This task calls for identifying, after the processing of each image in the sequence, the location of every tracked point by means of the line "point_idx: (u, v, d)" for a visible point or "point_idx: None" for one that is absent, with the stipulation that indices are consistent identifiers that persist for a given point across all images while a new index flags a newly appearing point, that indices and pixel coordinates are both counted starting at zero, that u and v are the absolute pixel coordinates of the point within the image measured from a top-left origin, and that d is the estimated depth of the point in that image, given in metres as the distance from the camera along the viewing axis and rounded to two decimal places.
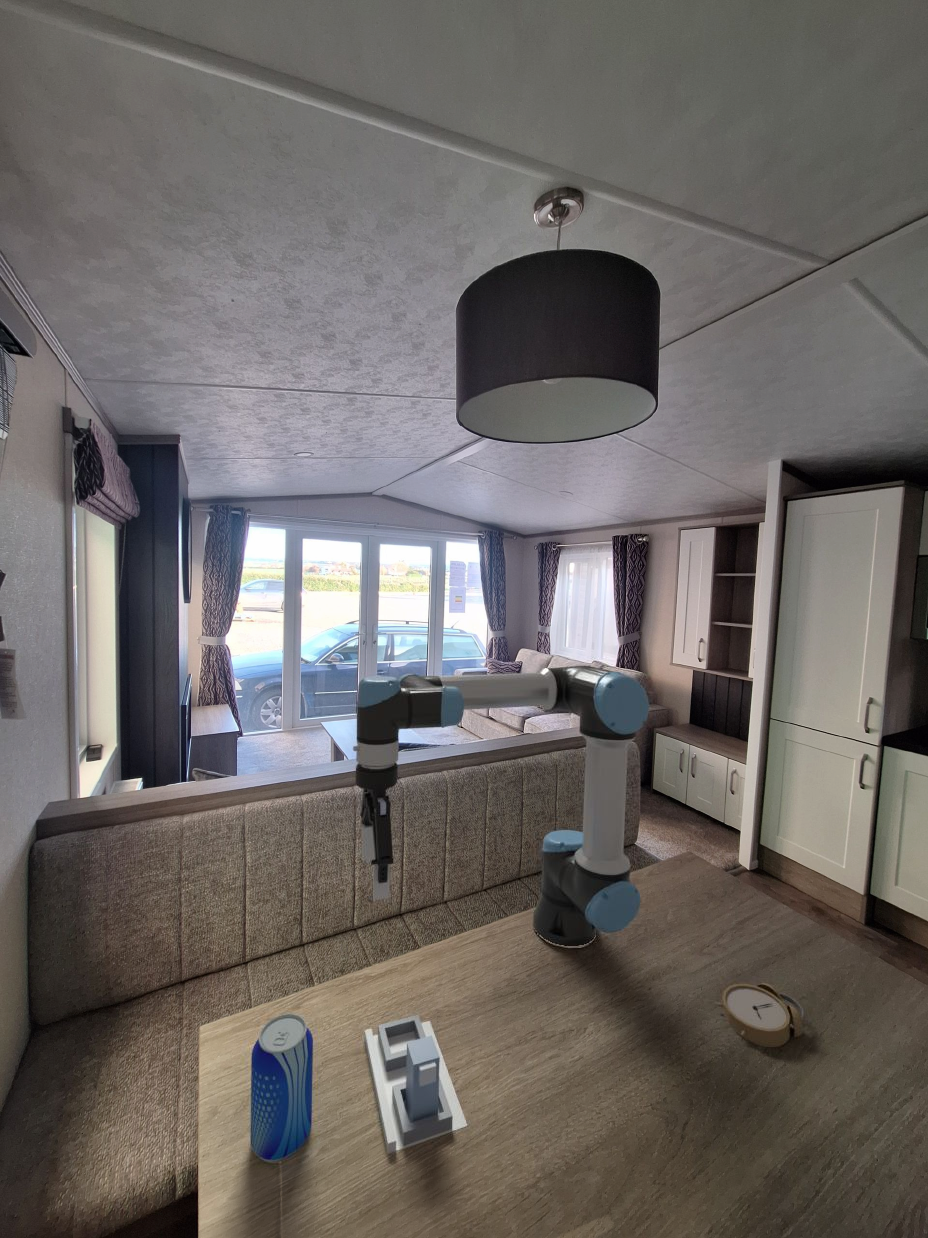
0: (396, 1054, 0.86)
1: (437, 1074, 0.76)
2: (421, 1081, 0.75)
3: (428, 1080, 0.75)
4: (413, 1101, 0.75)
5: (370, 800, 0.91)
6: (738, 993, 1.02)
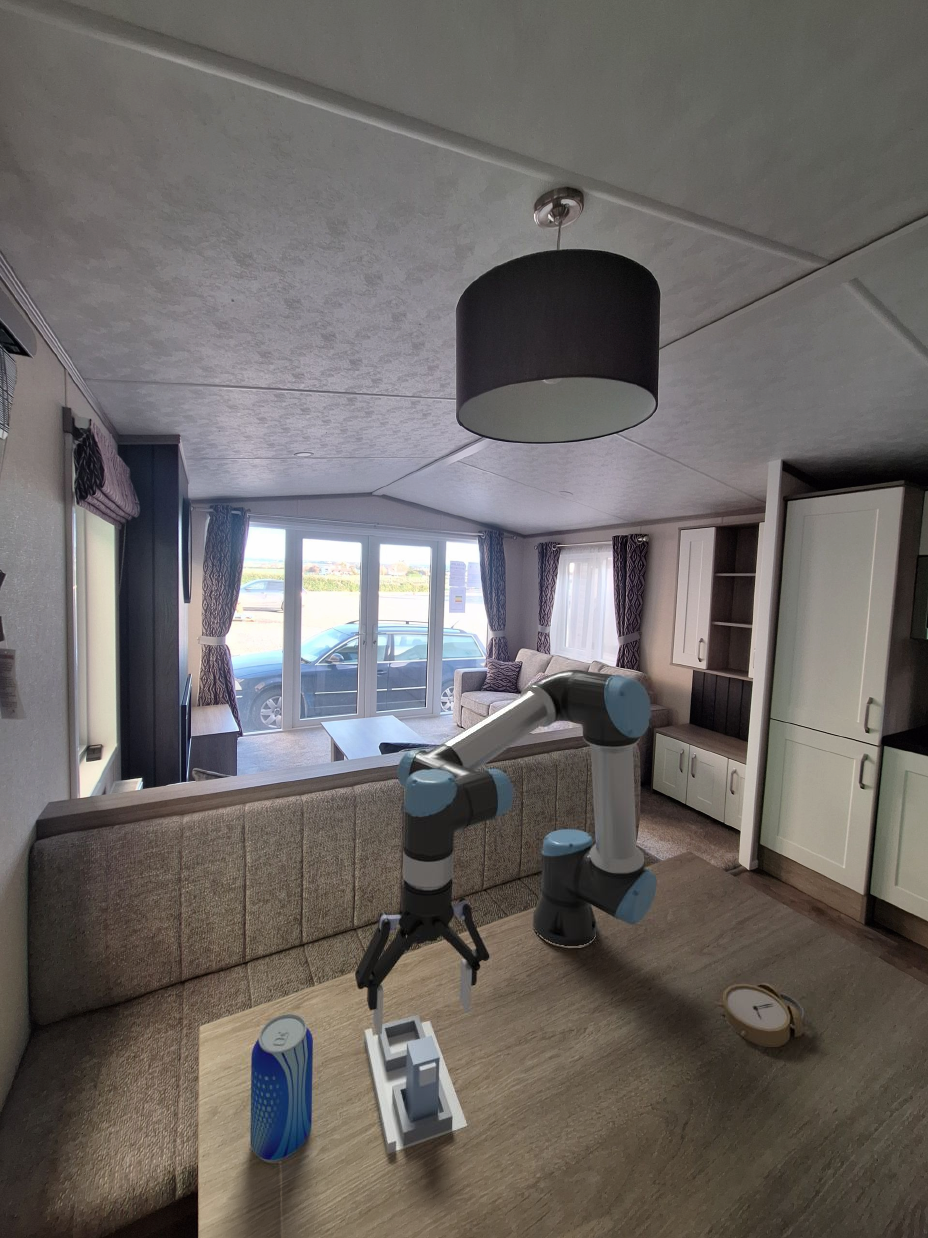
0: (396, 1054, 0.86)
1: (437, 1074, 0.76)
2: (421, 1081, 0.75)
3: (428, 1080, 0.75)
4: (413, 1101, 0.75)
5: None
6: (738, 993, 1.02)
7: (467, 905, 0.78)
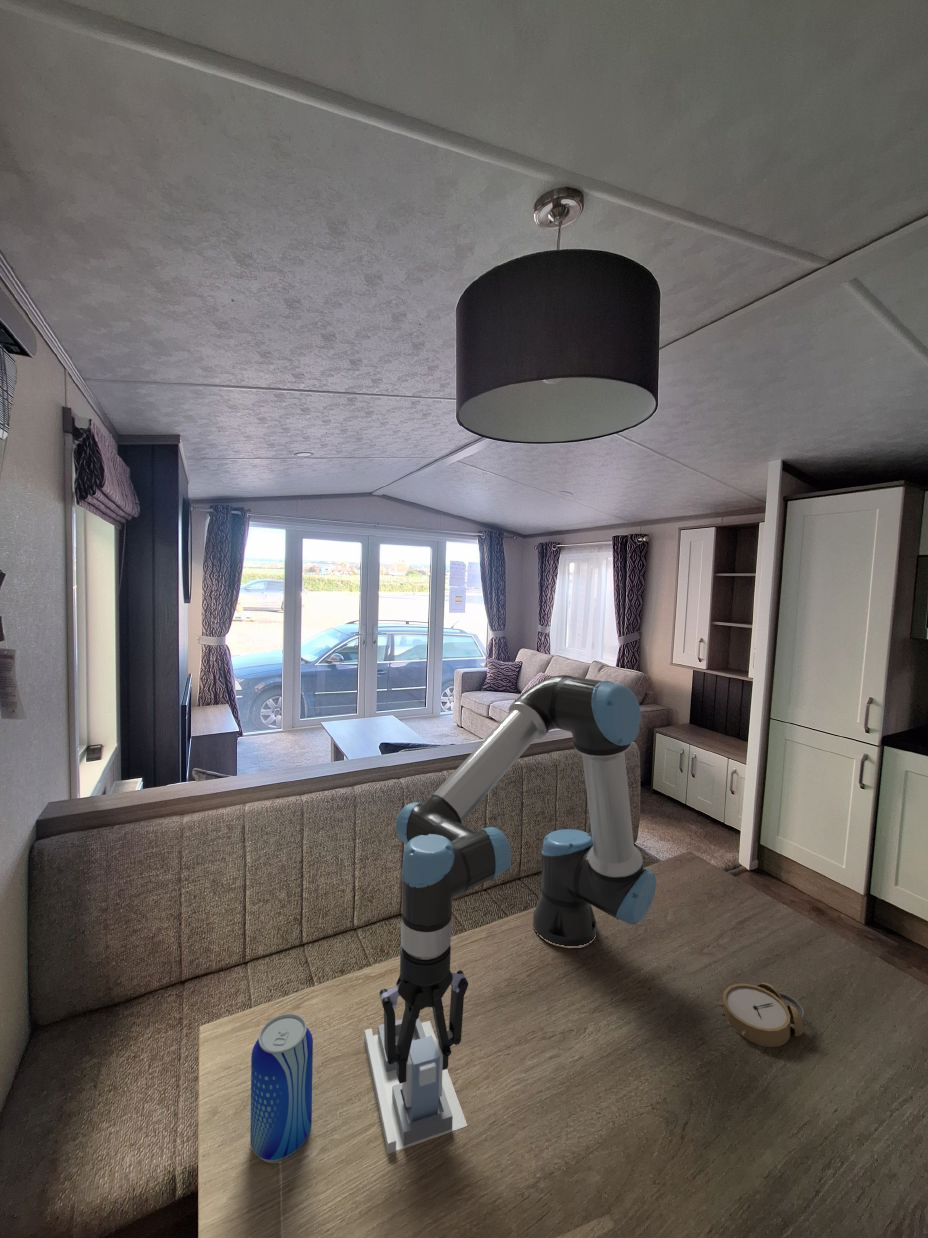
0: None
1: (437, 1074, 0.76)
2: (421, 1081, 0.75)
3: (428, 1080, 0.75)
4: (413, 1101, 0.75)
5: None
6: (738, 993, 1.02)
7: (466, 980, 0.79)
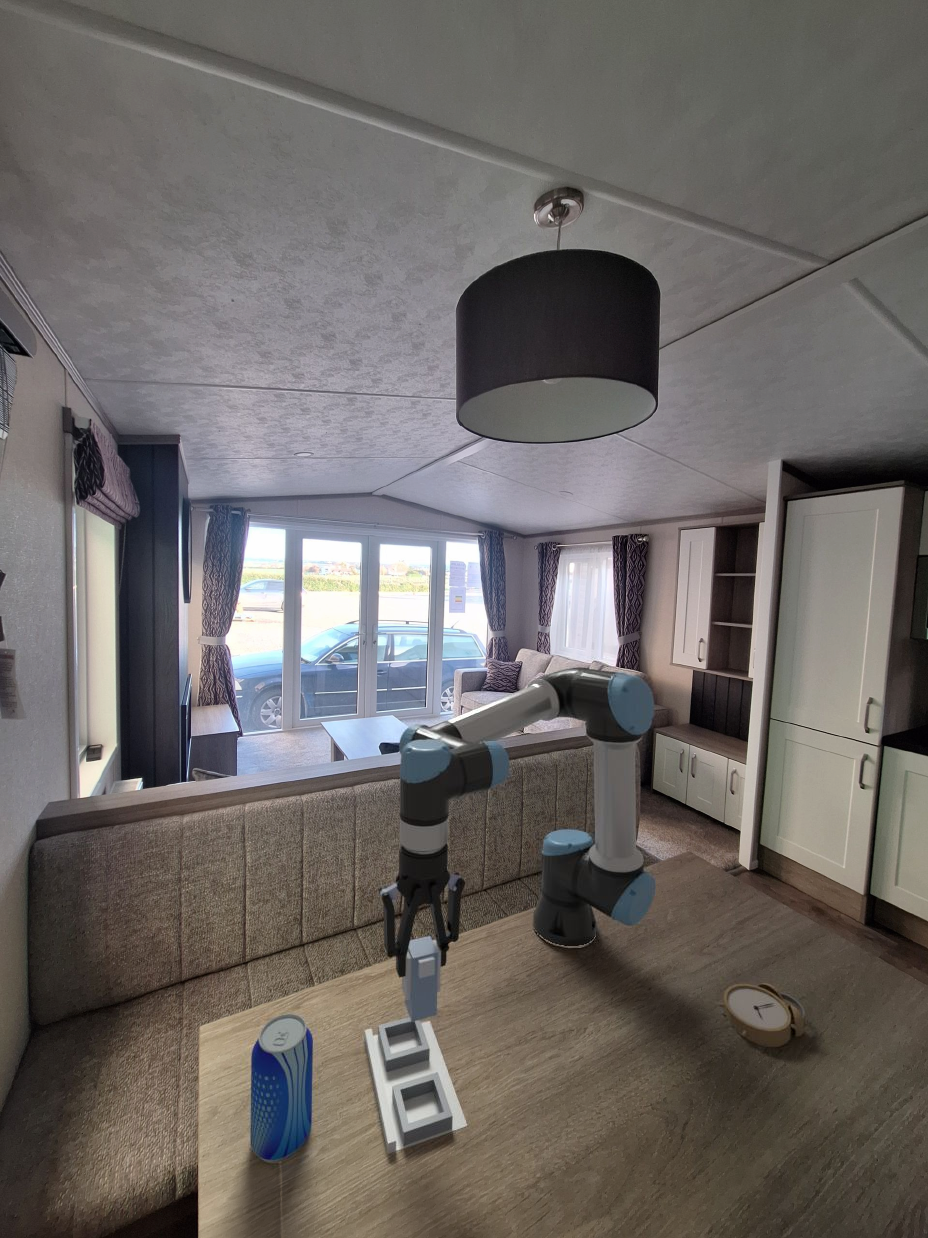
0: (396, 1054, 0.86)
1: (436, 968, 0.79)
2: (420, 973, 0.77)
3: (427, 973, 0.77)
4: (413, 994, 0.78)
5: None
6: (739, 993, 1.02)
7: (463, 879, 0.81)
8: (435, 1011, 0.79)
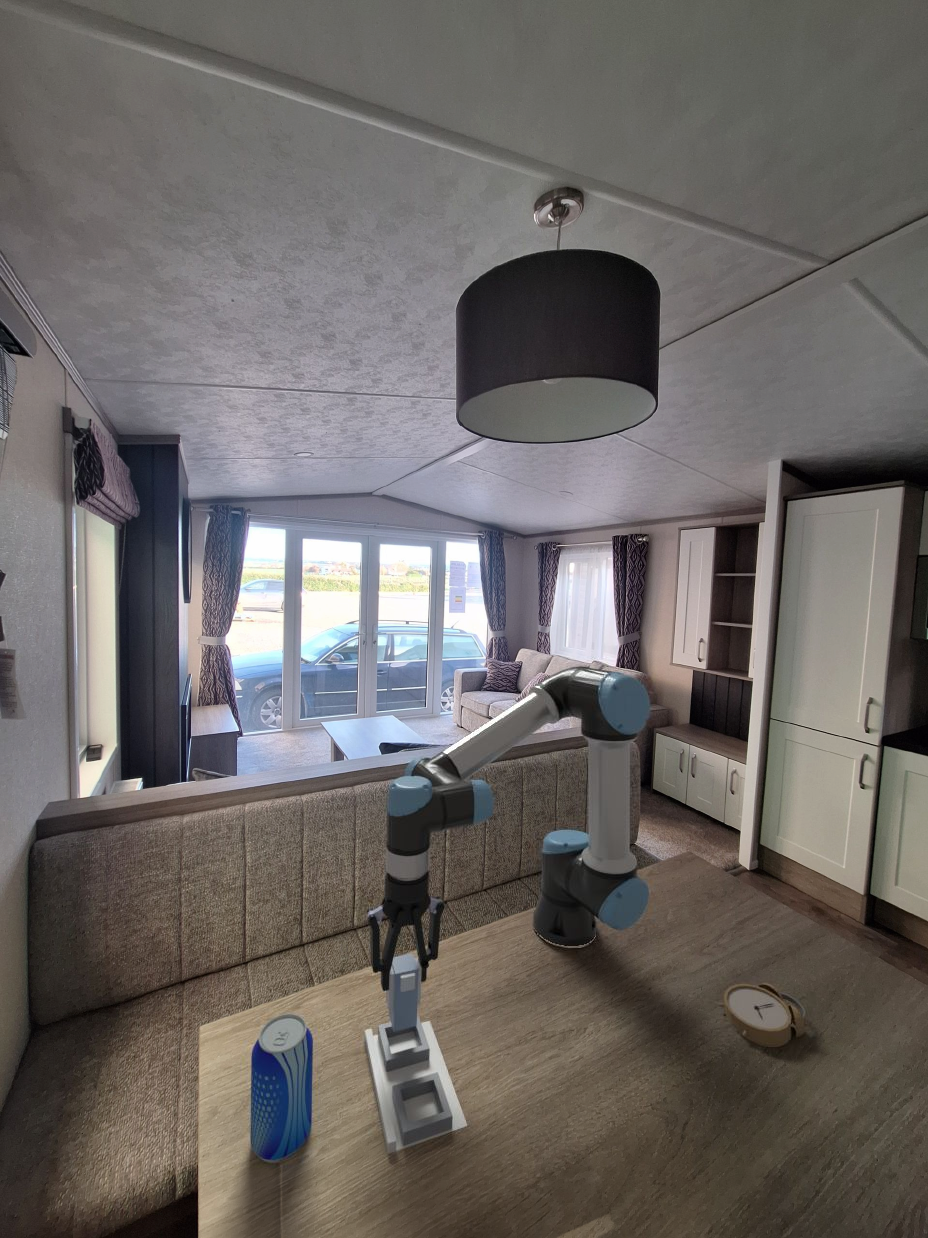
0: (396, 1054, 0.86)
1: (416, 984, 0.87)
2: (402, 988, 0.86)
3: (408, 987, 0.86)
4: (395, 1006, 0.86)
5: None
6: (739, 993, 1.02)
7: (442, 903, 0.90)
8: (415, 1022, 0.88)
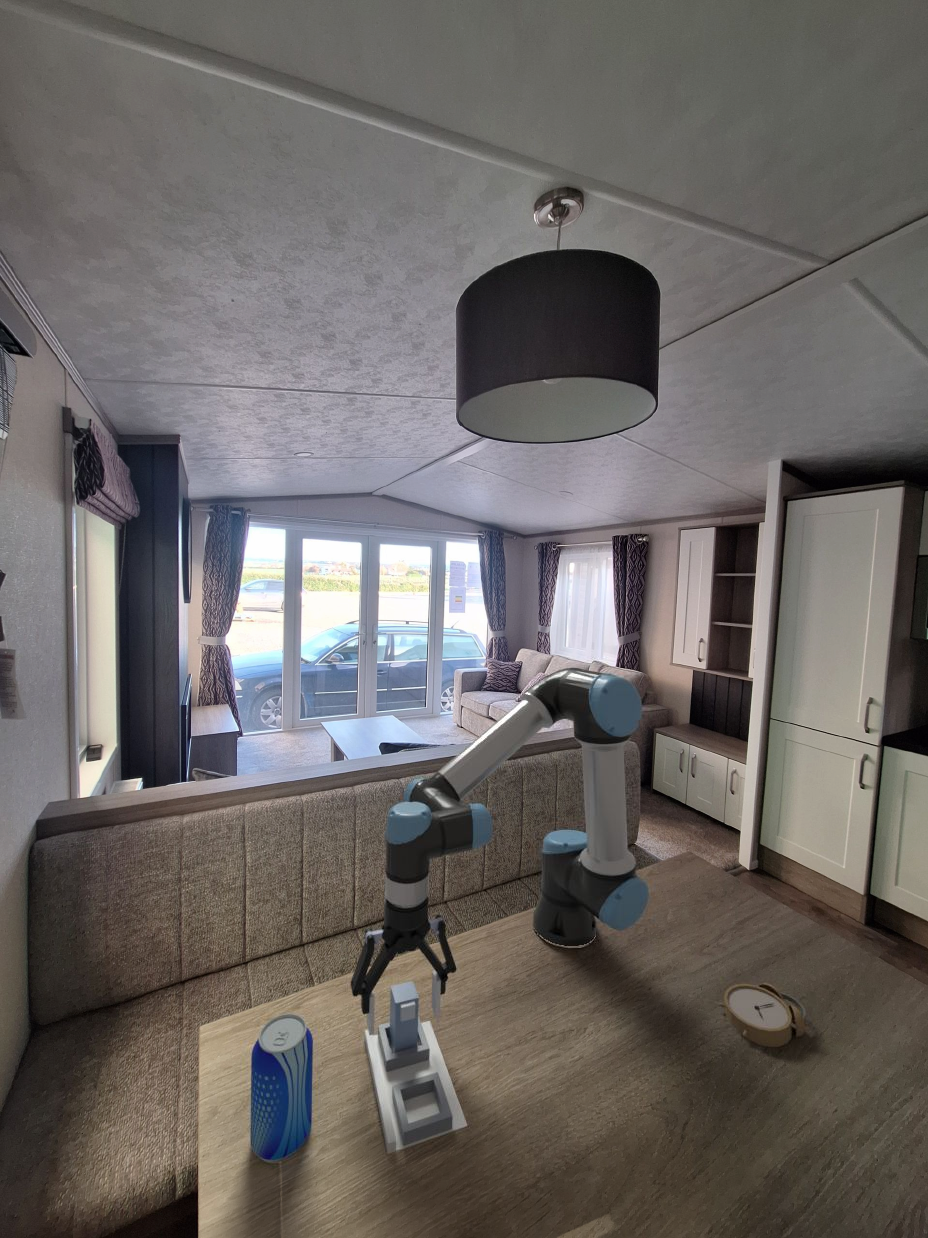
0: (396, 1054, 0.86)
1: (416, 1012, 0.88)
2: (402, 1017, 0.86)
3: (408, 1016, 0.86)
4: (395, 1035, 0.87)
5: None
6: (740, 993, 1.02)
7: (442, 922, 0.90)
8: None
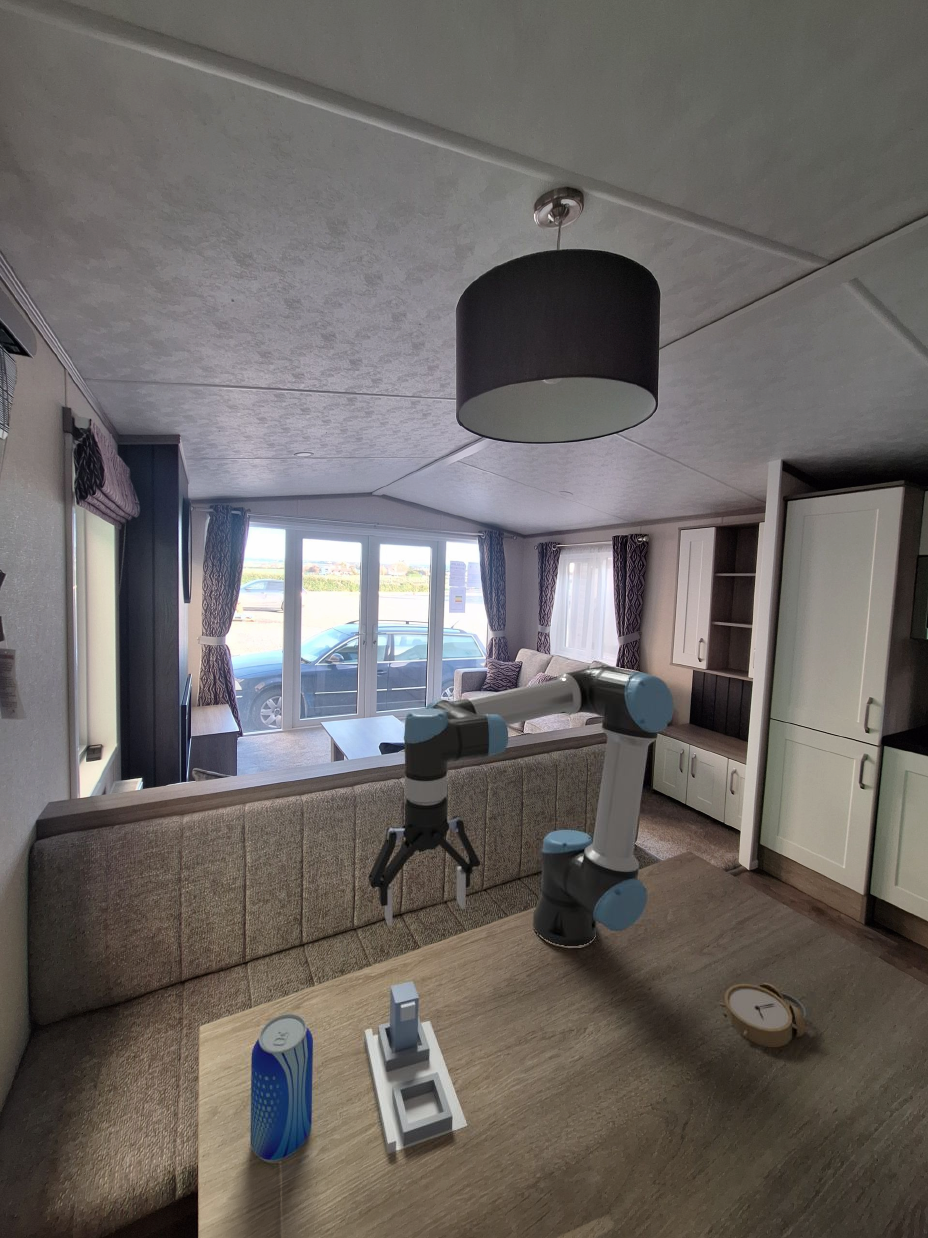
0: (396, 1054, 0.86)
1: (416, 1012, 0.88)
2: (402, 1017, 0.86)
3: (408, 1016, 0.86)
4: (395, 1035, 0.87)
5: None
6: (740, 993, 1.02)
7: (460, 820, 0.93)
8: None
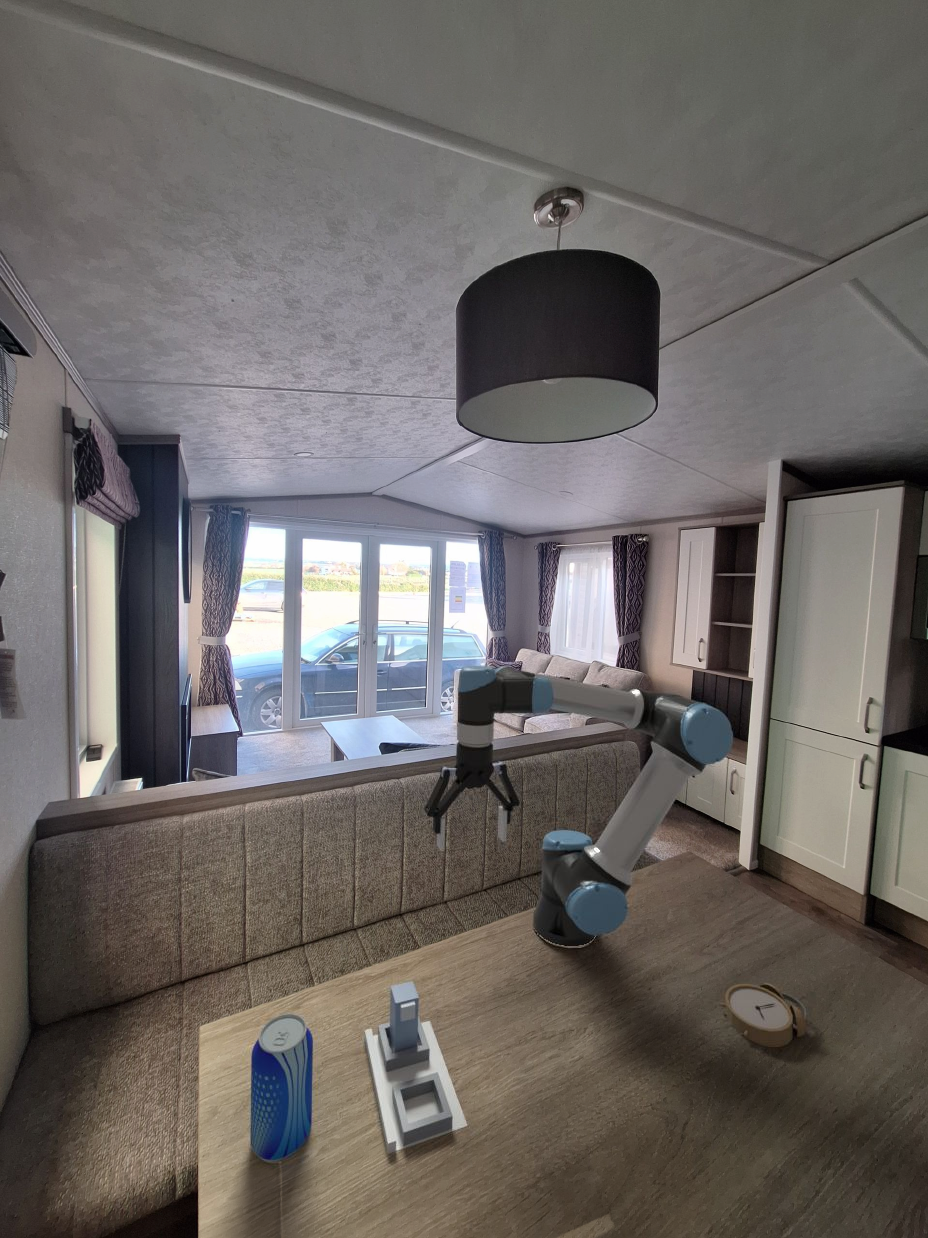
0: (396, 1054, 0.86)
1: (416, 1012, 0.88)
2: (402, 1017, 0.86)
3: (408, 1016, 0.86)
4: (395, 1035, 0.87)
5: None
6: (741, 993, 1.02)
7: (503, 764, 1.07)
8: None
